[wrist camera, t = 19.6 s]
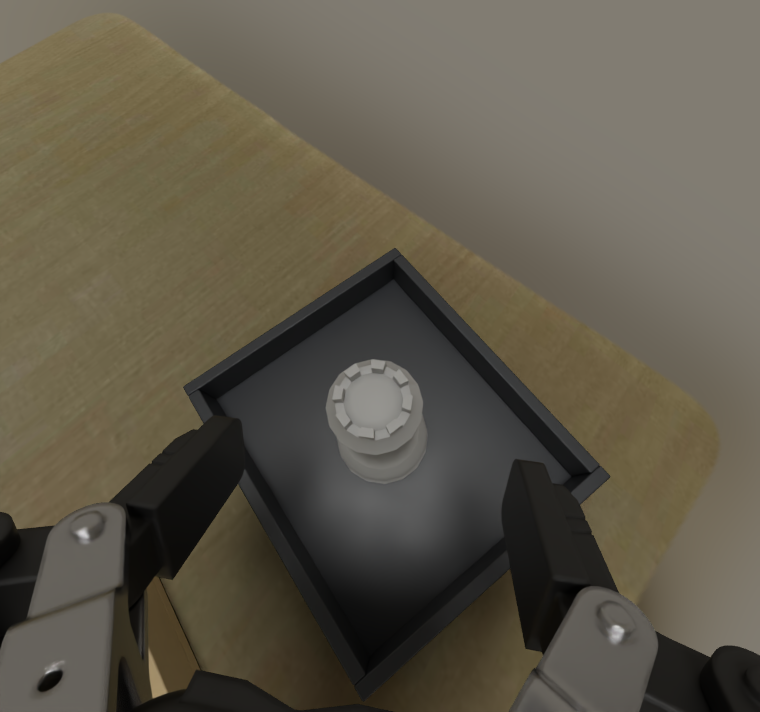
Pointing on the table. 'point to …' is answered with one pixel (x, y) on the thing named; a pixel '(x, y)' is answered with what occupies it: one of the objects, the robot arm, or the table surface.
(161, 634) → the birch tray
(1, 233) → the table surface
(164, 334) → the table surface
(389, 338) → the charcoal tray
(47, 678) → the robot arm
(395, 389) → the rook chess piece
